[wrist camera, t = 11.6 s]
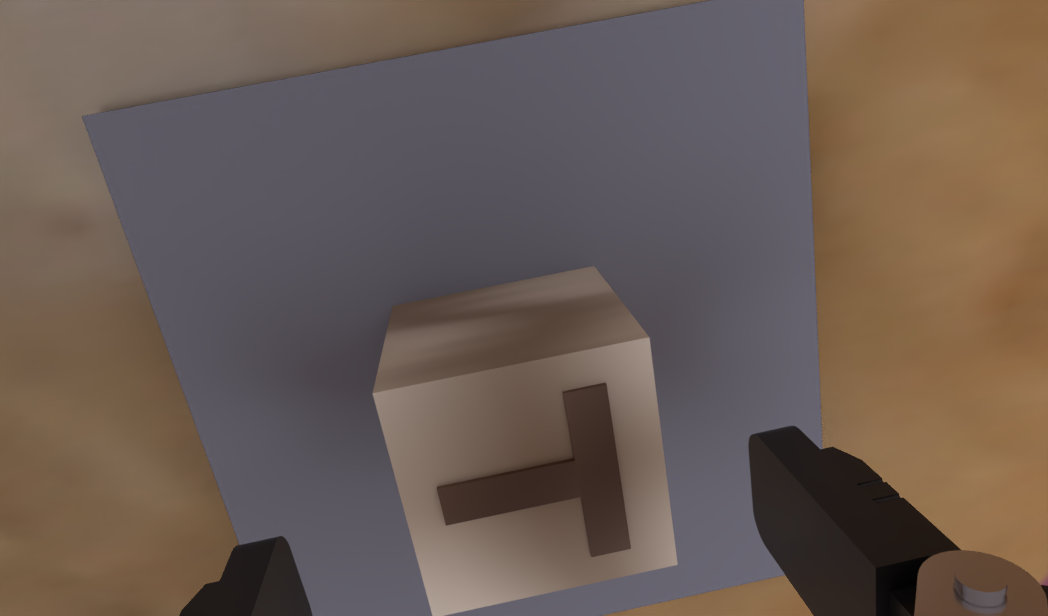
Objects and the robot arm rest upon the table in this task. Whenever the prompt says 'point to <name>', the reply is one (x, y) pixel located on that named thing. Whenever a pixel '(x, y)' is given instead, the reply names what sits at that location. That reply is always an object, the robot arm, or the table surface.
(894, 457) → the table surface
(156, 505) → the table surface
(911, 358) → the table surface
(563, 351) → the letter cube
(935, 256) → the table surface
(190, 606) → the robot arm
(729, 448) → the mat
